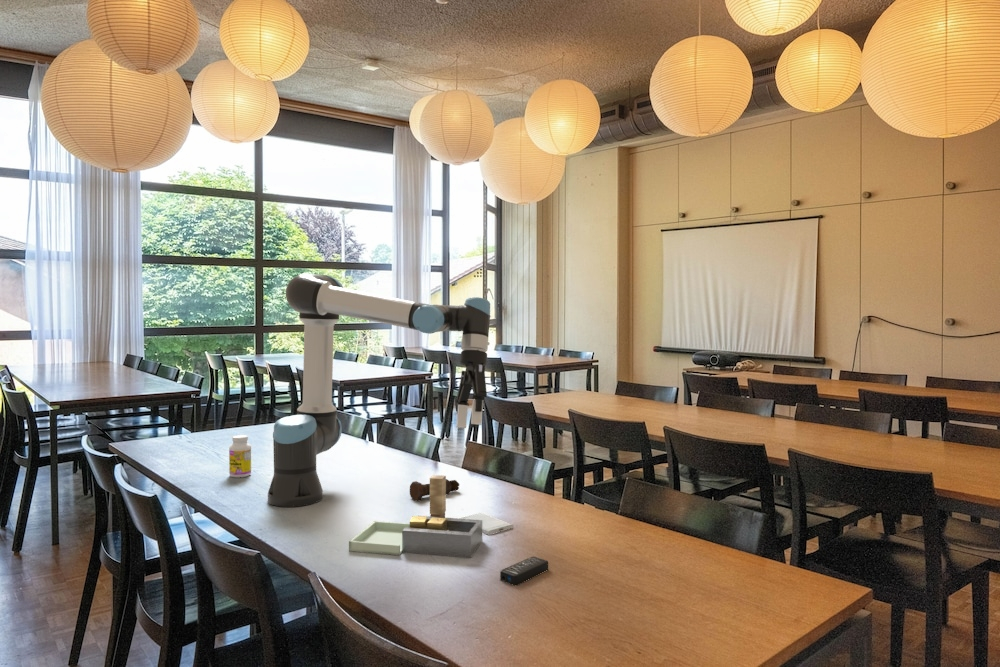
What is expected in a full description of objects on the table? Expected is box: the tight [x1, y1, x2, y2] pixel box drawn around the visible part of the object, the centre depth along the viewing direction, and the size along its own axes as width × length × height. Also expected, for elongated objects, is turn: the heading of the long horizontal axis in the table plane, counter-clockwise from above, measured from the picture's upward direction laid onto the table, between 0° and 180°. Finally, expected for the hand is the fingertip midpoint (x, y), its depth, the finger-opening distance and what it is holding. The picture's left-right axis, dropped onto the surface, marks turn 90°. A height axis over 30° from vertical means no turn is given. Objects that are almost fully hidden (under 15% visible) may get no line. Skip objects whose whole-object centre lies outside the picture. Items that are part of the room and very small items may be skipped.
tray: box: [348, 520, 410, 556], centre depth 160 cm, size 12×15×2 cm
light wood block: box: [409, 515, 427, 529], centre depth 158 cm, size 4×4×3 cm
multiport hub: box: [499, 556, 549, 586], centre depth 141 cm, size 4×11×2 cm, turn 139°
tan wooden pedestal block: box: [429, 474, 447, 518], centre depth 170 cm, size 3×4×13 cm
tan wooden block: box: [427, 517, 448, 531], centre depth 158 cm, size 4×4×3 cm
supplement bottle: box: [228, 434, 252, 479], centre depth 221 cm, size 7×7×13 cm
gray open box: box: [402, 515, 483, 559], centre depth 157 cm, size 16×11×5 cm
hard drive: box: [458, 512, 514, 536], centre depth 173 cm, size 2×8×12 cm
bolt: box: [409, 478, 460, 502], centre depth 199 cm, size 6×5×15 cm
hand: (468, 426), depth 189 cm, fingers open, 13 cm apart
